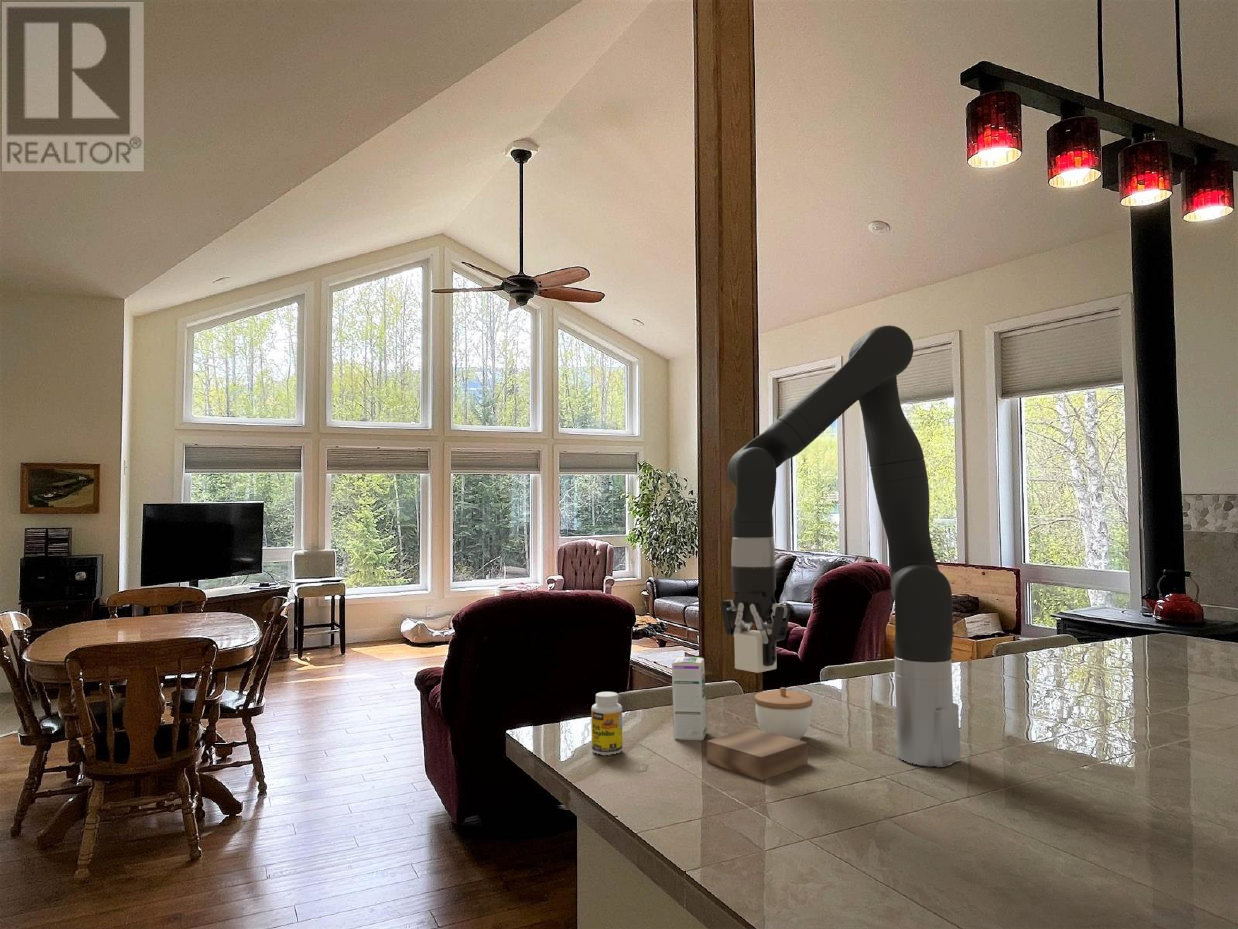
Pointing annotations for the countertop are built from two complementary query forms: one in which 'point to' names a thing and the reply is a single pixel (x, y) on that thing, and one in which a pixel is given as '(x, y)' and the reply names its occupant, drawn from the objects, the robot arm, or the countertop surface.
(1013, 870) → the countertop surface
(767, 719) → the lidded jar
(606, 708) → the supplement bottle
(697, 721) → the syrup box
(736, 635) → the cream block
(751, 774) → the walnut block
